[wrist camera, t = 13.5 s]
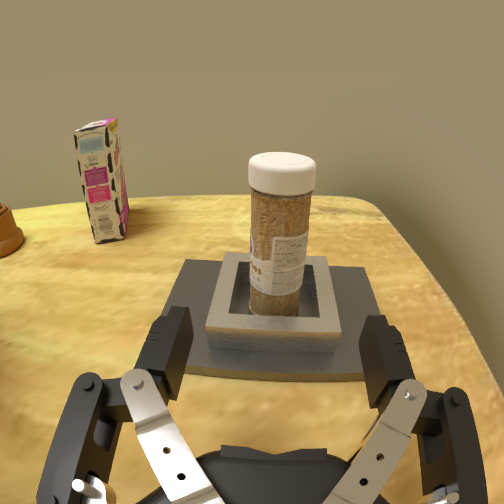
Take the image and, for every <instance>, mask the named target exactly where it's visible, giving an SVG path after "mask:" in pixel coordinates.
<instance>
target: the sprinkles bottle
mask: <svg viewBox="0 0 504 504" xmlns="http://www.w3.org/2000/svg"><path fill="white" fill-rule="evenodd" d="M248 175H249V185H250V188H251V192H252V194H251V229H250V300H249V310H250V312H251V314H252V315H263V316H285V317H296V315H297V313H298V311H299V303H298V300H299V295H300V287H301V284H302V280H303V273H304V265H305V258H306V250H307V241H308V233H309V215H310V205H311V194H312V192H313V189H314V187H315V178H316V163H315V162H314V161H313V160H312V159H311V158H309V157H306V156H303V155H299V154H295V153H287V152H268V153H261V154H257V155H255V156H253V157H252V158H251V159H250V160H249V173H248Z"/></svg>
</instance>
